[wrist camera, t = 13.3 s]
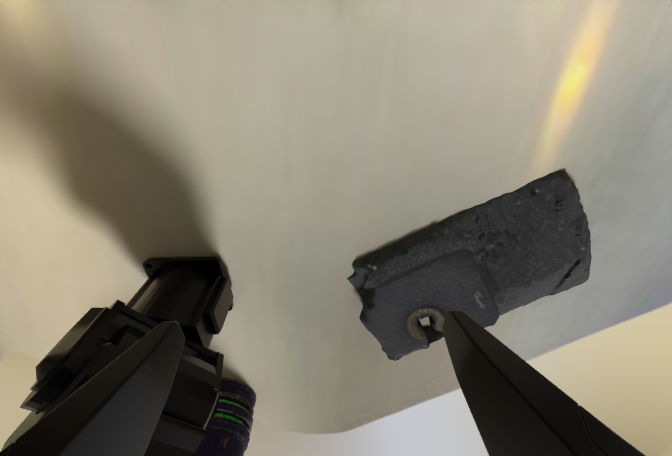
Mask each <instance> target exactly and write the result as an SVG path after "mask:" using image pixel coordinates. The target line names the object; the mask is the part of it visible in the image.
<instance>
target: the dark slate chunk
mask: <svg viewBox="0 0 672 456" xmlns="http://www.w3.org/2000/svg"><path fill="white" fill-rule="evenodd" d="M579 200H580V196H579V193H578V189H577V188H576V187H575V185H574V183H573V182H571V181H570V178H569V177H568V175H567V173H566V172H565V171H558V172H555V173H552V174H550V175H548V176H546V177H542V178H539V179H536V180H534V181H532V182H530V183H528V184H526V185H525V186H523V187H521V188H519V189H517V190H516V191H514V192H511V193H505V194H503V195H501V196H499V197H496V198H493V199H491V200H489V201H487V202H486V203H483V204H480V205H477V206H474V207H472V208H470V209H468V210H465V211H462V212H459V213H458V214H456V215H454V216H451V217H449V218H447V219H445V220H443V221H441V222H440V223H438V224H435V225H431V226H430V227H428V228H426V229H424V230H421V231H419V232H417V233H415V234H413V235H411V236H409V237H407V238H404V239H402V240H400V241H398V242H396V243H394V244H392V245H390V246H387V247H385V248H383V249H381V250H379V251H376V252H373V253H370V254H368V255H367V256H365V257H363V258H361V259H358V260H356V261H354V263H353V269H354V270H355V272H354V274H353V275H352V276H351V277H349V278H347V279H348V280H349V281H350V283H351V284H352V285H353V286H354V287H355V289H356V290H357V292H358V293H359V294H360V295H361V297H362V298H363V303H364V304H363V309H362V311H361V315H360V320H361V322H362V323H363V324H364V326H365V327H366V328H367V330H368V331H369V332H371V333H372V334H373V335H374V337H375V338H376V339H377V340H378V341H379V343H380V344H381V346H382V350H383V351H384V352H385V353H386V354H387V356H388V358H389V359H390V360H399V359H400V358H401V357H402V356H404V355H408V354H410V353H412V352H414V351H417V350H420V349H427V348H429V346H430V345H429V344H430V343H432V342H435V341H437V340H439V339H441V338H442V337H444V334H443V330H442V327H443V323H444V320H445V317H446V315H447V312H448V311H450V310H461V311H463V312H464V313H465V314H467V315H468V316H469V317H470V318H472V319H473V320H474V321H475V322H477V323H478V324H479V325H480V326H482V327H483V328H485V327H488V326H492V325H494V324H495V323H496V321H497V320H498V318H499V315H502V314H505V313H507V312H509V311H511V310H513V309H515V308H518V307H520V306H525V305H527V304H529V303H531V302H533V301H535V300H537V299H539V298H542V297H544V296H548V295H554V294H557V293H559V292H562V291H565V290H568V289H570V288H572V287H574V286H577V285H580V284H582V283H584V282H585V281H587V280H588V278H589V273H590V264H591V247H590V245H591V241H590V231H589V229H588V220H587V216H586V214H585V213H584V211H583V206H582V205H581V203H580V202H579ZM424 317H429V321H430V324H431V325H432V326H431V327H422V325H421V323H420V321H419V319H422V318H424ZM418 318H419V319H418Z"/></svg>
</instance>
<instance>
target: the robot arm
mask: <svg viewBox="0 0 672 456" xmlns="http://www.w3.org/2000/svg"><path fill="white" fill-rule="evenodd" d="M213 262H216V263H217V264H215V263H213ZM150 264H151V265H150ZM143 267H144V269H145V271H146V273H147V275H148V277H149V279H148V280H147V281H146V282H145V283H144V285H143V286H142V287H141V288H140V289H139V291H138V292H137V293H136V294H135V295H134V297H133V298H132V299H131V300H130V301H129V303H128V304H127V305H125V303H123V302H121V301H119V300H117V301H116V302H115V303H114V304H112V305H111V306H110V307H109V308H107V307H104V308H91V309H90V310H89V311H88V312H87V313H86V314H85V315H84V316H83V317H82V318H81V319H80V320H79V321H78V322H77V323H76V324H75V325H74V326H73V327H72V328H71V329H70V330H69V332H68V333H67V334H66V335H65V336H64V337H63V338H62V339H61V340H60V341H59V342H58V343H57V344H56V345H55V347H54V348H53V349H52V350H51V351H50V352H49V353H48V354H47V355H46V356H45V358H44V359H43V360H42V361H41V362H40V363H39V364H38V366H36V377H37V381H36V382H35V384H34V385H33V386H32V387H31V389H30V390H32V392H31V393H30V394H29V396H28V397H27V398H26V399H25V401H24V402H23V403H22V405H21V406H20V408H23V409H27V410H30V411H32V412H31V413H30V414H29V415H28V416H27V418H26V419H25V420H24V421H23V422H22V423H21V424H20V425H19V427H18V428H17V429H16V430H15V431H14V433H12V435H11V436H10V437H9V438H8V439H7V441H6V442H5V444H4V446H3V448H2V451H1V452H0V456H192V455H193V454H194V452H195V450H196V449H197V447H198V446H199V445H200V443H201V442H202V440H203V439H204V437H205V435H206V433H207V431H208V429H209V427H210V425H211V423H212V421H213V419H214V416H215V414H216V411H217V408H218V404H219V398H220V387H221V377H222V367H223V357H224V355H223V354H221V353H219V352H215V351H213V350H211V349H209V348H208V347H209V345H210V342H211V340H212V337H213V335H214V334H219V333H220V331H221V329H222V326H223V324H224V321H225V319H226V316H227V313H228V311H230V310H232V308H233V301H232V300H233V294H232V290H231V287H230V283H229V279H228V278H227V277H226V276H225V272H224V269H223V265H222V261H221V260H220V259H219V258H217V257H193V258H151V259H147V260H146V261H145V262H144V263H143ZM442 330H443V334H444V338H445V341H446V344H447V348H448V351H449V354H450V357H451V361H452V364H453V367H454V370H455V373H456V376H457V379H458V382H459V384H460V387H461V389H462V392H463V394H464V396H465V399H466V401H467V404H468V406H469V408H470V411H471V413H472V415H473V418H474V420H475V423H476V425H477V428H478V430H479V432H480V435H481V437H482V439H483V442H484V444H485V447H486V449H487V452H488V454H489V456H645V455H644V454H643V453H641V452H640V451H639V450H637V449H636V448H635V447H633V446H632V445H631V444H629V443H628V442H626V441H625V440H624V439H622V438H621V437H620V436H619V435H617V434H616V433H615V432H613V431H612V430H611V429H610V428H608V427H607V426H606V425H604V424H603V423H602V422H601V421H599V420H598V419H597V418H596V417H594V416H593V415H592V414H590V413H589V412H588V411H586V410H585V409H584V408H583V407H582V406H579V405H578V403H576V402H575V401H574V400H573V399H572V398H570V397H569V396H568V395H567V394H565V393H564V392H563V391H562V390H560V389H559V388H558V387H557V386H555V385H554V384H553V383H552V382H550V381H549V380H548V379H547V378H545V377H544V376H543V375H541V374H540V373H539V372H538V371H536V370H535V369H534V368H533V367H532V366H530V365H529V364H528V363H527V362H525V361H524V360H523V359H522V358H520V357H519V356H518V355H517V354H515V353H514V352H513V351H512V350H510V349H509V348H508V347H507V346H505V345H504V344H503V343H502V342H500V341H499V340H498V339H497V338H495V337H494V336H493V335H492V334H490V333H489V332H488V331H487V330H485V329H484V328H483V327H482V326H480V325H479V324H478V323H477V322H475V321H474V320H473V319H472V318H470V317H469V316H468V315H467V314H465V313H464V312H463V311H461V310H450V311H448V312H447V315H446V317H445V320H444V323H443V327H442Z"/></svg>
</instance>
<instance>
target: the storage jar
mask: <svg viewBox="0 0 672 456" xmlns="http://www.w3.org/2000/svg"><path fill="white" fill-rule="evenodd" d="M255 402H256V394H255V392H254V391H253V389H252V388H250V387H249V386H248V385H246V384H244V383H242V382H239V381H236V380H232V379H227V378H221V387H220V398H219V404H218V408H217V411H216V414H215V416H214V419H213V421H212V423H211V425H210V427H209V429H208V431H207V433H206V435H205V437H204V439H203V440H202V442H201V443H200V445H199V446H198V447H197V449H196V450H195V452H194V454H193V455H192V456H243V454H244V452H245V450H246V449H247V446H248V443H249V440H250V439H249V436H250V432H251V427H252V422H253V413H254V409H253V407H254V406H255Z"/></svg>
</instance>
